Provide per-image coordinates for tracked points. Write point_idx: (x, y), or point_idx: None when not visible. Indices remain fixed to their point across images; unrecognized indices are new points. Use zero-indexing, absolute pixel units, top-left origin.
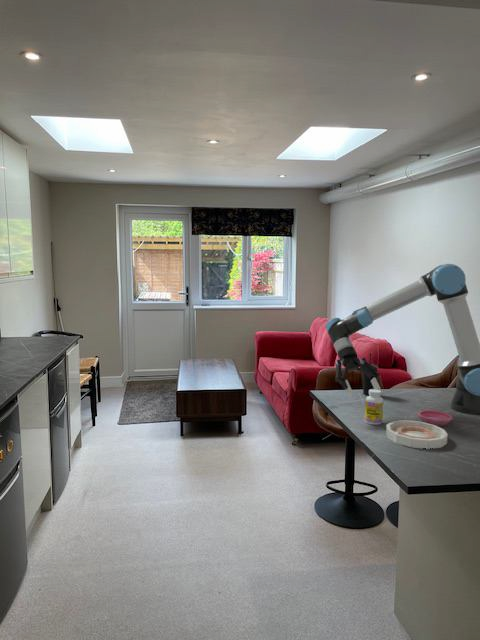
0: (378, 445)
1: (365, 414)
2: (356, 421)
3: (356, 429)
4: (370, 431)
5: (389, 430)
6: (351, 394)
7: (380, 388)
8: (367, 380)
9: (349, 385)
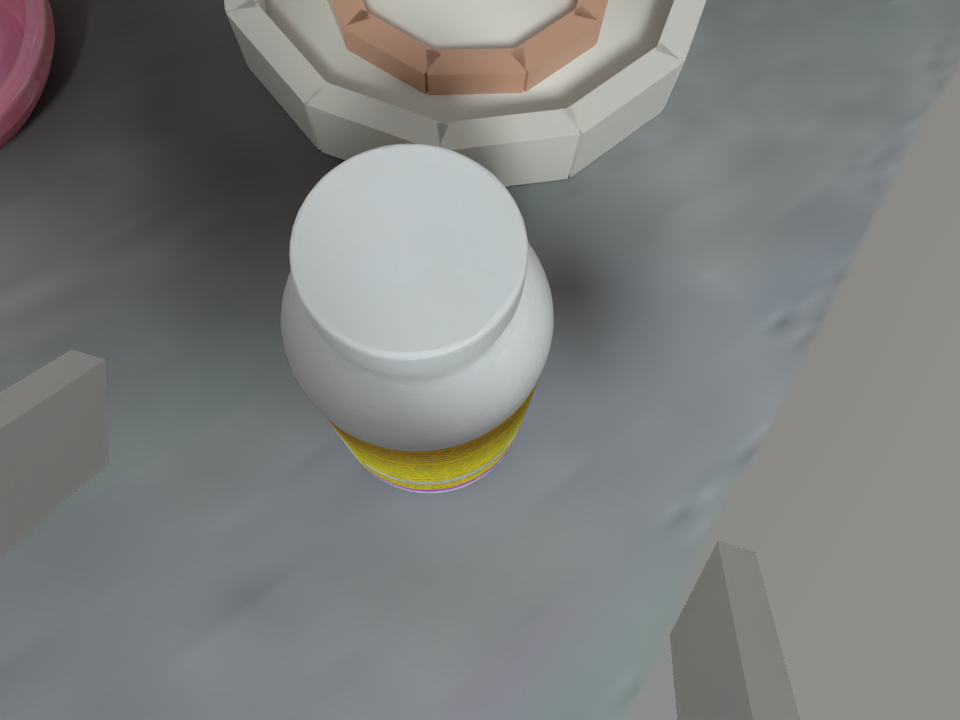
0: (852, 67)
1: (515, 433)
2: (552, 535)
3: (741, 378)
4: (665, 271)
5: (688, 42)
6: (748, 567)
7: (26, 377)
8: None
9: (763, 718)
